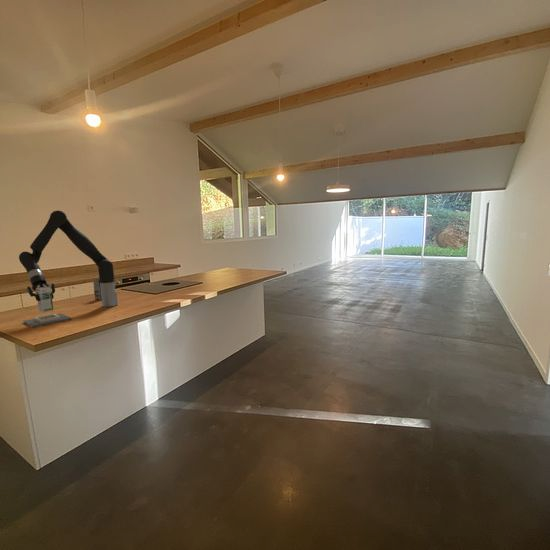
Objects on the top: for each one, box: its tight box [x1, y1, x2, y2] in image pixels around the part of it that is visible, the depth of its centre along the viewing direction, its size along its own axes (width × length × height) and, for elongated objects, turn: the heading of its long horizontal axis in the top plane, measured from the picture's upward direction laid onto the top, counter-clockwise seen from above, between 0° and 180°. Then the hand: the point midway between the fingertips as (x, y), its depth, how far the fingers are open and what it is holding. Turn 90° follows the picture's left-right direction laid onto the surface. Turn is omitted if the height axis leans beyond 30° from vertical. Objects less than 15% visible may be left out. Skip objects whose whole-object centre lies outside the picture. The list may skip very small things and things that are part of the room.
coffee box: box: [92, 278, 102, 301], centre depth 258 cm, size 9×6×16 cm
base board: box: [22, 313, 73, 328], centre depth 197 cm, size 20×18×3 cm
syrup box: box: [36, 287, 54, 313], centre depth 195 cm, size 6×6×14 cm
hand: (45, 299), depth 194 cm, fingers closed on syrup box, 6 cm apart
